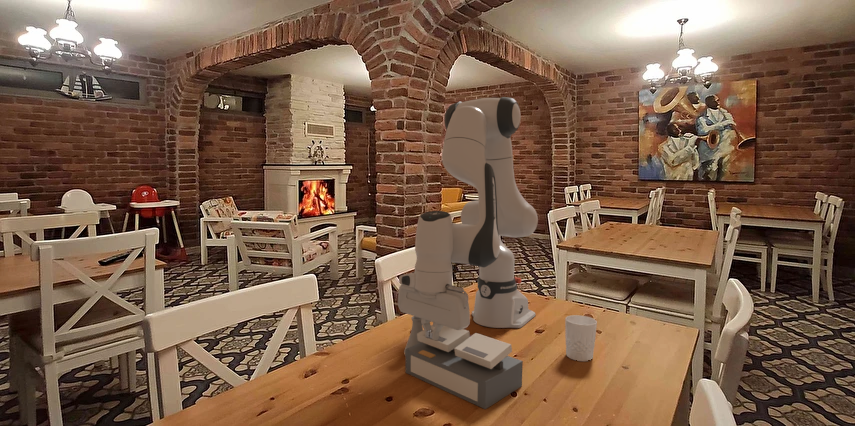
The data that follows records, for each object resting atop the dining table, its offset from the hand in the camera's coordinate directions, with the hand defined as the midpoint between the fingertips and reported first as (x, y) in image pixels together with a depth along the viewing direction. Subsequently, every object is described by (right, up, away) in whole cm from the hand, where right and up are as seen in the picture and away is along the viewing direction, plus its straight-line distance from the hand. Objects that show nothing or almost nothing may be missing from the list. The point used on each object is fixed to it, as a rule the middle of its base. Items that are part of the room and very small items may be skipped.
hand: (431, 338), depth 109 cm
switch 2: (+12, -2, -5) cm, 13 cm away
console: (+7, -10, 0) cm, 12 cm away
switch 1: (+3, -1, +3) cm, 4 cm away
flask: (-4, -8, +15) cm, 17 cm away
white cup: (+39, -9, +14) cm, 43 cm away
